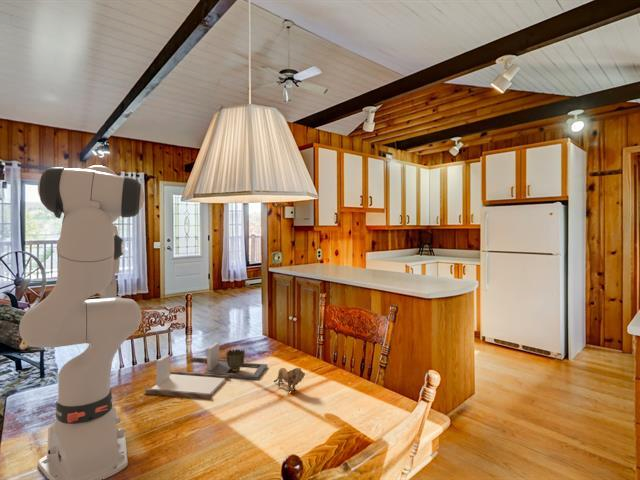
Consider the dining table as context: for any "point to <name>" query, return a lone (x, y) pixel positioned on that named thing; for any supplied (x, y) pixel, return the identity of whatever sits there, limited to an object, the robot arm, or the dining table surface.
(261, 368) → the grey frame with upright
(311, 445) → the dining table surface
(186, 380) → the white platform with upright
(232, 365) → the cup
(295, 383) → the lion figurine
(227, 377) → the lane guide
